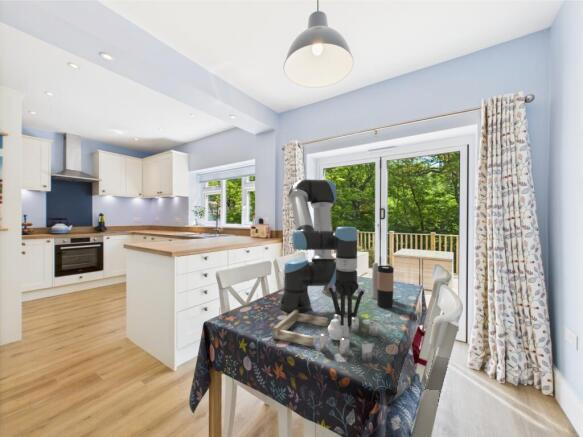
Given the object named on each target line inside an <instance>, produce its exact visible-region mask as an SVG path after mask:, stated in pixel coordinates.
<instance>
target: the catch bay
mask: <svg viewBox="0 0 583 437" xmlns="http://www.w3.org/2000/svg"><path fill="white" fill-rule="evenodd" d="M328 321H329V318H328V317H323V316H319V315H312V314H306V313H303V312H301V313H298V310H294V311H293V312H289V313H288V315H287V316H286V317H284V318H283V319H282V320H280V321H279V323H277V324H276V325H275V326H273V339H275V340H281V341H286V342H290V343H295V344H299V345H303V346H308V347H312V348H313V346H314V340H315V339H314V338H315V336H312V335H307V334H302V333H298V332H294V331H289V329H290V328H291V327H292V326H293V325H294V324H295V323H296V322H302V323H306V324H312V325H317V326H323V327H328V326H329V325H328Z"/></svg>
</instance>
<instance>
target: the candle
mask: <svg viewBox="0 0 583 437" xmlns="http://www.w3.org/2000/svg"><path fill="white" fill-rule="evenodd" d="M378 266H379V263H378V262H373V263H372V269H371V270H372V272H371V273H372V275H371V276H372V277H371V280H372V281H371V298H372V297H373V298H375V299H374V300H377V282H378ZM373 298H372V299H373Z"/></svg>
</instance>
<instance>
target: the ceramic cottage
mask: <svg viewBox="0 0 583 437" xmlns="http://www.w3.org/2000/svg"><path fill="white" fill-rule="evenodd" d="M332 286H333V285H332ZM330 287H331V286H323V289H322V292H321V294H322V293H323V294H325V295H328V296H327V297H329V296H332V295H331V293H330V291H329V288H330ZM323 294H322V295H323ZM336 294H337V298H340V293H339V292H338V290H337V289H336ZM325 295H324V296H325ZM352 296H354V297H355V293H354V294H353V295H352ZM345 297H347V295H345Z"/></svg>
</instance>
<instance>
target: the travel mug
mask: <svg viewBox="0 0 583 437" xmlns="http://www.w3.org/2000/svg"><path fill="white" fill-rule="evenodd" d="M394 269H395V268H394V267H393V266H390V265H383V264H382V265H378V282H377V299H376V300H377V307H379V308H382V309H387V310H389V309H392V308H393V304H394V300H393V297H394V272H395V271H394Z"/></svg>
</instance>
